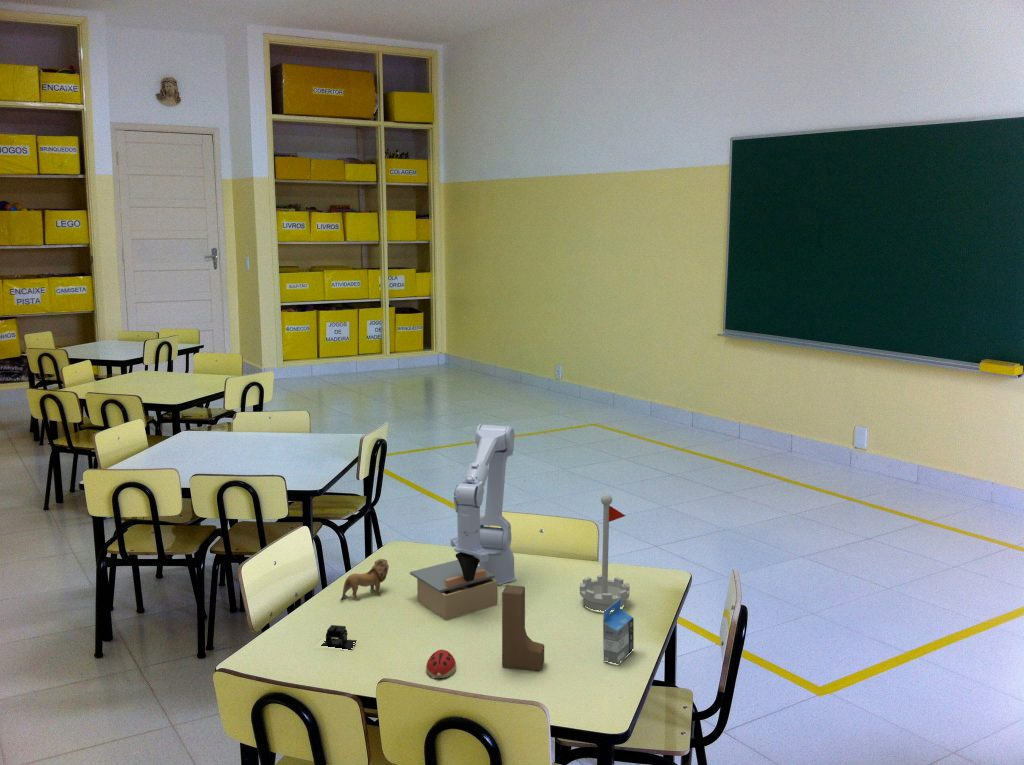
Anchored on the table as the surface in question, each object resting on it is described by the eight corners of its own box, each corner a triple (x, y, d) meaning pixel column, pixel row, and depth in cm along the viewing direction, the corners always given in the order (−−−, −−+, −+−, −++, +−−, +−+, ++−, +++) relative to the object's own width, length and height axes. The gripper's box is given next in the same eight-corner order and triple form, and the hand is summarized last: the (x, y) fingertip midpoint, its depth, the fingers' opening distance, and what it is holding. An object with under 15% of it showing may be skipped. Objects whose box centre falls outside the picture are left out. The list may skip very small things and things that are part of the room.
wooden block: (544, 662, 203) (545, 587, 200) (541, 671, 198) (541, 595, 195) (505, 658, 205) (505, 584, 202) (501, 667, 200) (501, 591, 197)
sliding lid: (463, 560, 246) (463, 551, 246) (494, 577, 234) (494, 568, 234) (409, 574, 236) (409, 565, 236) (439, 592, 224) (439, 583, 224)
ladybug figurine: (456, 659, 204) (456, 645, 204) (455, 681, 195) (455, 666, 194) (427, 660, 204) (427, 645, 204) (425, 682, 194) (424, 666, 194)
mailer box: (468, 587, 245) (468, 564, 244) (497, 604, 234) (497, 581, 232) (417, 601, 235) (417, 578, 234) (445, 620, 224) (445, 595, 223)
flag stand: (572, 609, 231) (574, 498, 225) (587, 591, 243) (589, 484, 237) (621, 618, 226) (624, 504, 221) (634, 598, 238) (637, 490, 233)
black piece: (306, 650, 209) (305, 632, 208) (318, 637, 216) (317, 619, 216) (356, 655, 207) (356, 636, 206) (367, 641, 214) (366, 623, 213)
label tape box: (617, 666, 201) (619, 615, 199) (601, 662, 203) (602, 611, 201) (634, 651, 208) (635, 601, 206) (618, 647, 210) (619, 597, 208)
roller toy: (471, 605, 233) (471, 584, 232) (447, 608, 231) (447, 587, 230) (467, 598, 237) (466, 578, 236) (443, 601, 235) (443, 581, 234)
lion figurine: (383, 585, 246) (382, 554, 244) (393, 591, 242) (392, 560, 240) (335, 599, 237) (334, 567, 235) (345, 606, 233) (344, 573, 231)
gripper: (440, 524, 230) (440, 574, 232) (471, 540, 218) (471, 593, 220) (463, 519, 234) (463, 568, 236) (495, 534, 222) (495, 586, 225)
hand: (469, 580), depth 229 cm, fingers closed
